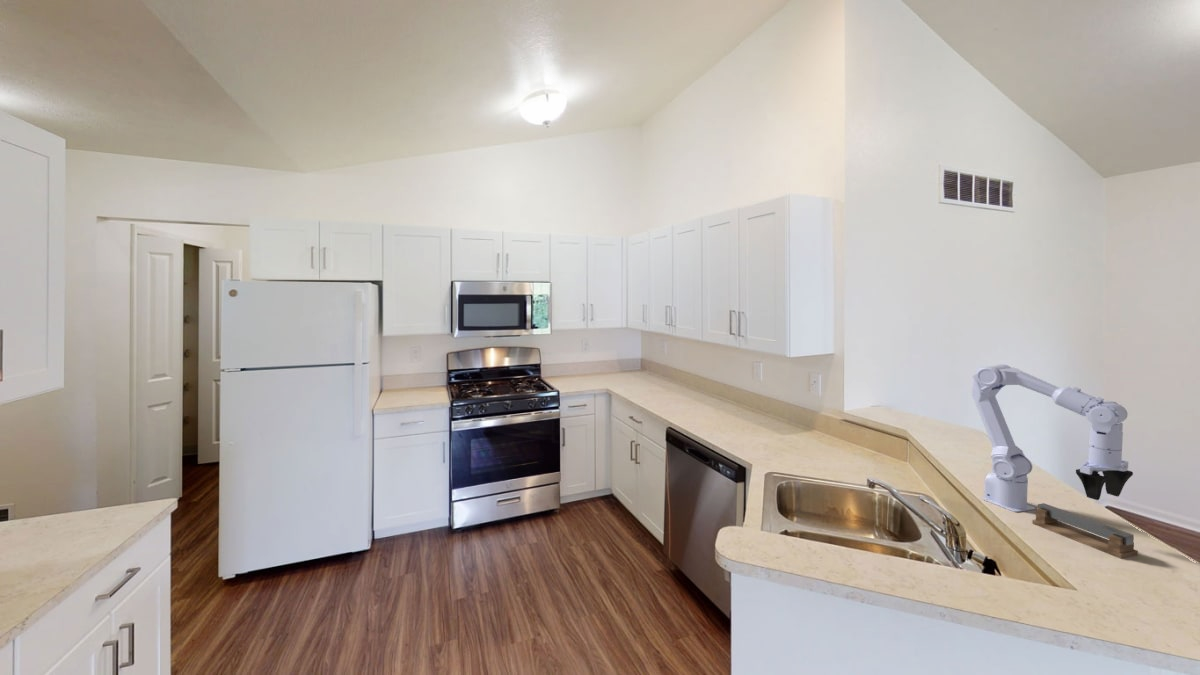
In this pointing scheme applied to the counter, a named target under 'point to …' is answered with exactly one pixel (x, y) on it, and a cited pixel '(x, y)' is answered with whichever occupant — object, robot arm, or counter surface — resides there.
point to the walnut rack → (1085, 536)
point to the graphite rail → (1086, 523)
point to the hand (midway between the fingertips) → (1102, 496)
